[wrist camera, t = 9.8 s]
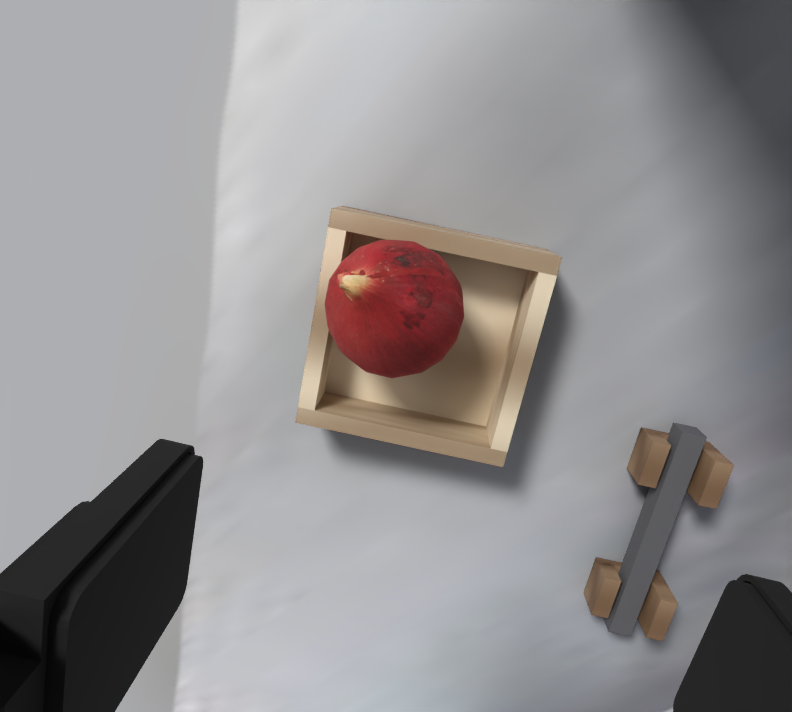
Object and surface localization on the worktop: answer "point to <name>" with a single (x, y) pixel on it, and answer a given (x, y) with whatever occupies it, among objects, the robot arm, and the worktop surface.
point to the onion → (394, 308)
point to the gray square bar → (654, 527)
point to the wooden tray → (459, 369)
